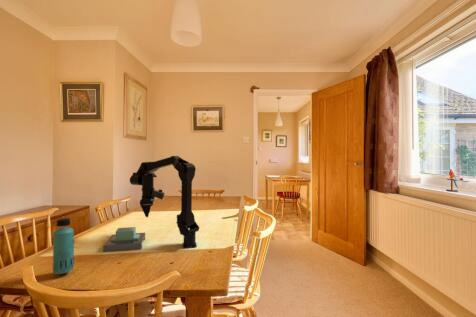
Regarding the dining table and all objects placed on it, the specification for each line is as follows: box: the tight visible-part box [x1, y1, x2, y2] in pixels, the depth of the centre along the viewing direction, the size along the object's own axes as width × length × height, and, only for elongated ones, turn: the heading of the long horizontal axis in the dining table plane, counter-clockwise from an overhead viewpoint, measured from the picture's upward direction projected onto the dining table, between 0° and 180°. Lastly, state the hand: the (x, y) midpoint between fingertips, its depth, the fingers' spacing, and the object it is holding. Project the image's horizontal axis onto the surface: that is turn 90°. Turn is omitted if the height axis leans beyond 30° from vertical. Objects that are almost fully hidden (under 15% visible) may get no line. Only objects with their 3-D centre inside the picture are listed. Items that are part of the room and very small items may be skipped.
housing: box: [111, 226, 140, 241], centre depth 122 cm, size 12×6×5 cm, turn 104°
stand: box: [102, 232, 146, 253], centre depth 122 cm, size 16×16×3 cm
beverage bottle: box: [52, 217, 75, 275], centre depth 91 cm, size 6×7×20 cm
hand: (147, 215), depth 133 cm, fingers open, 9 cm apart
